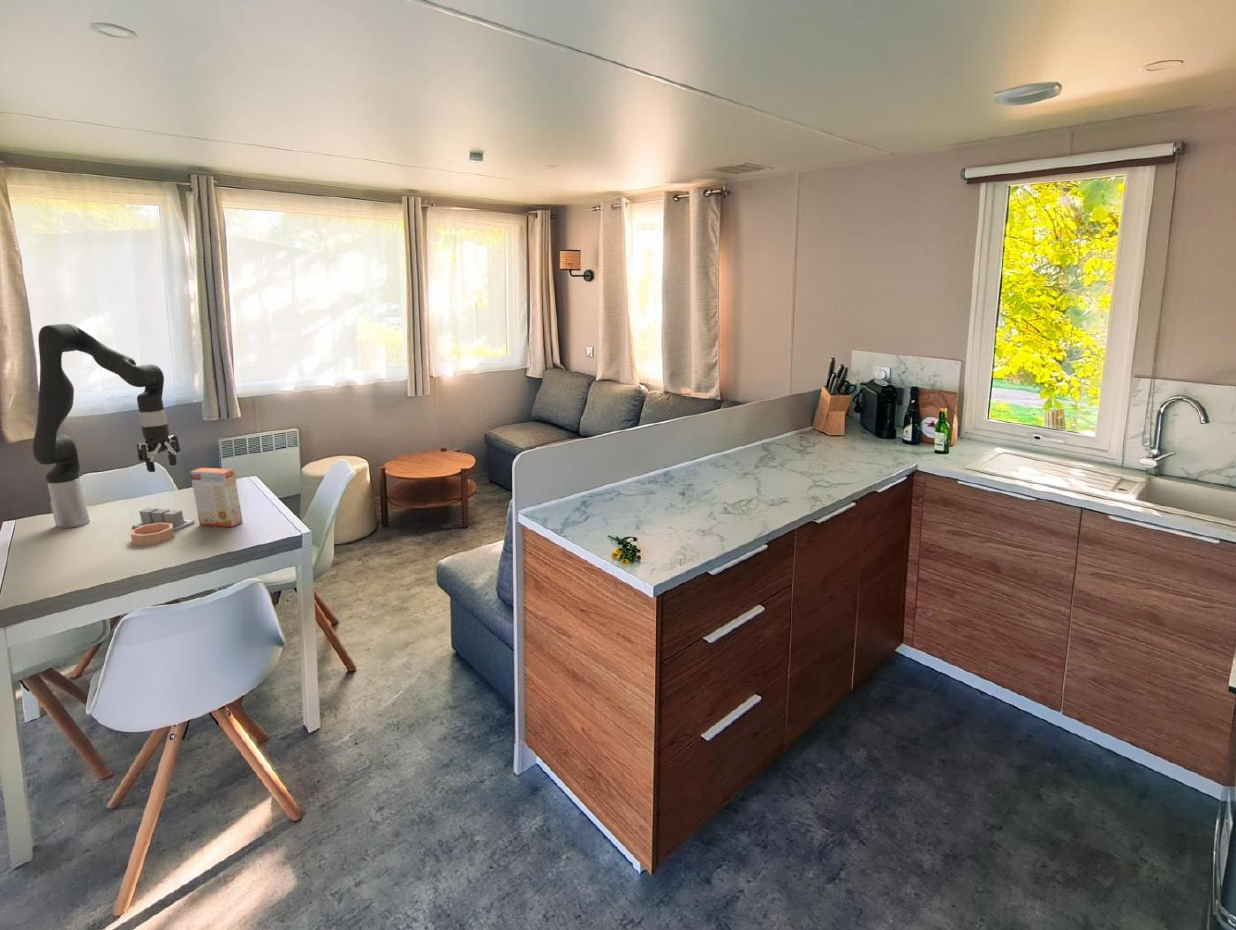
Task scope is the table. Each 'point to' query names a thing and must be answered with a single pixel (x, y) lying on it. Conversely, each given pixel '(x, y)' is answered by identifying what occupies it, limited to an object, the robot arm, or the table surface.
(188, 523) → the tray
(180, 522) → the grey rectangular block
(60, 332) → the robot arm
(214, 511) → the cracker box
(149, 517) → the gray block
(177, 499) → the table surface
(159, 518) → the gray rectangular block
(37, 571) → the table surface
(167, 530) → the bowl
